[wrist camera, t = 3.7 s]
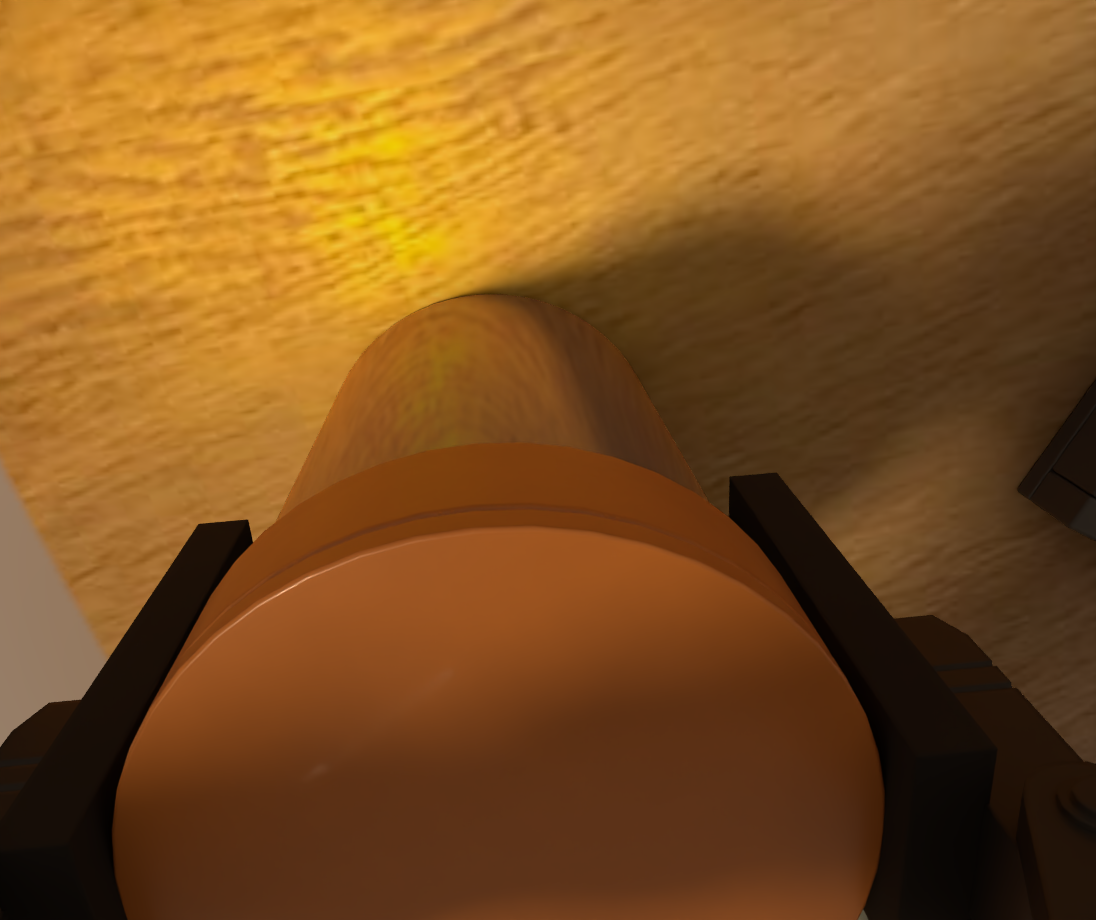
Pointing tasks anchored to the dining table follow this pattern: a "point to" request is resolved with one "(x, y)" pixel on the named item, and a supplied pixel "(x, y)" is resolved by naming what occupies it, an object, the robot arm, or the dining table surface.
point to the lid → (501, 714)
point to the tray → (1069, 471)
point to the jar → (488, 393)
